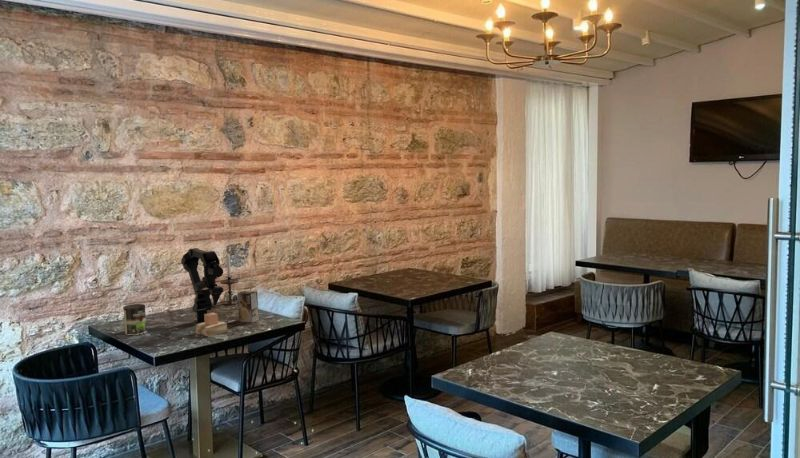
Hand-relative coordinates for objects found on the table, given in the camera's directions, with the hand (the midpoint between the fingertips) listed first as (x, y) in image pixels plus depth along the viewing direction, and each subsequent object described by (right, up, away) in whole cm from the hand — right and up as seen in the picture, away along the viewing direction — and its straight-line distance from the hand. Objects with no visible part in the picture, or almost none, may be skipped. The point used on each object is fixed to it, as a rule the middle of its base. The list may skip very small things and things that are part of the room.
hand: (211, 303), depth 308 cm
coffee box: (+17, -11, +11) cm, 23 cm away
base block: (+4, -14, -12) cm, 18 cm away
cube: (+4, -9, -12) cm, 15 cm away
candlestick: (-5, -7, +52) cm, 53 cm away
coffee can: (-36, -14, -10) cm, 40 cm away
